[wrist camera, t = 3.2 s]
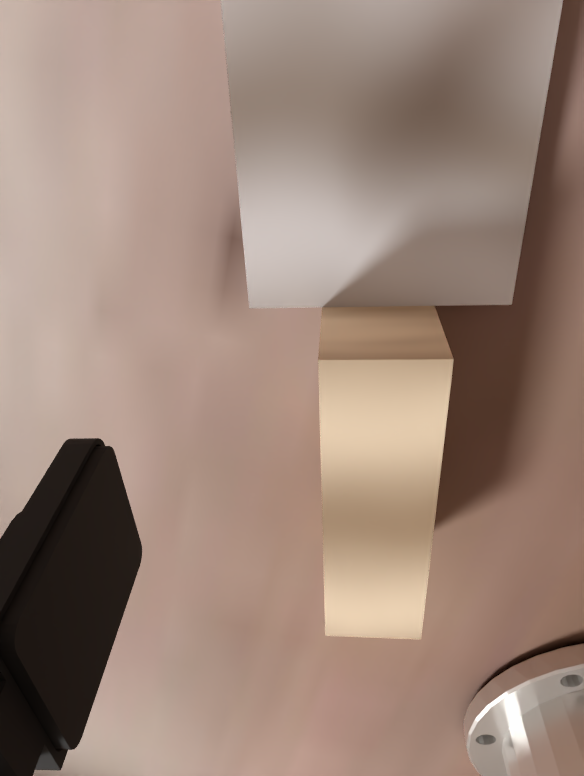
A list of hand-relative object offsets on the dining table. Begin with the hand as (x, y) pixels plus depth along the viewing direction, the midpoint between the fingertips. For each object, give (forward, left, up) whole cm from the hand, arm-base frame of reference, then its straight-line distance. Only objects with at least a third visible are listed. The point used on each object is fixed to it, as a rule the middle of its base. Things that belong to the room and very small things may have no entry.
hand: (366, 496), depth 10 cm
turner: (-1, 0, -7) cm, 7 cm away
